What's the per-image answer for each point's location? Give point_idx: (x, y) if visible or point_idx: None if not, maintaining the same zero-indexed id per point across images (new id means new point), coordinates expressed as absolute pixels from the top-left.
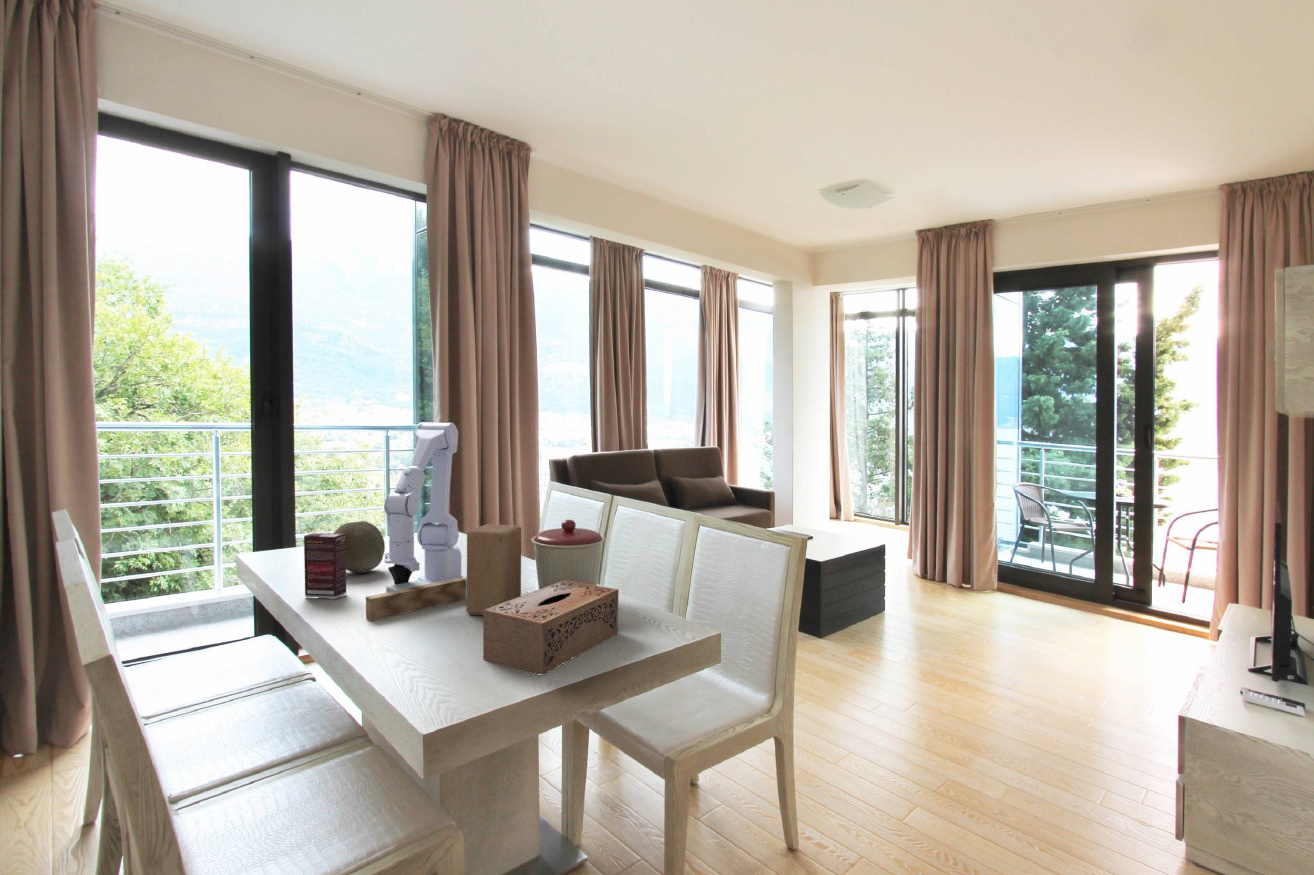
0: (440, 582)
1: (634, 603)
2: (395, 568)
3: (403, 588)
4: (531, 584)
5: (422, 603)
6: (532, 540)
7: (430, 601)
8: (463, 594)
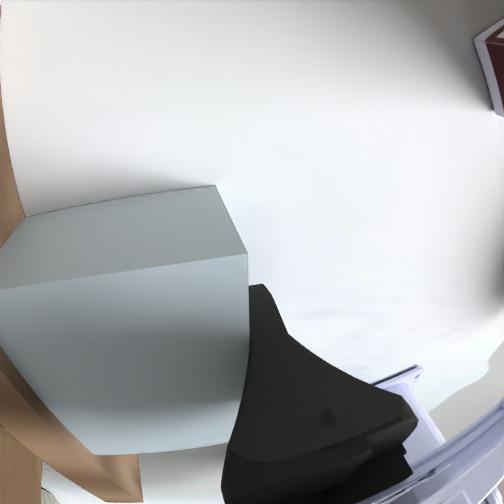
0: (91, 473)
1: None
2: (268, 494)
3: (80, 350)
4: (163, 499)
5: None
6: None
7: None
8: None
